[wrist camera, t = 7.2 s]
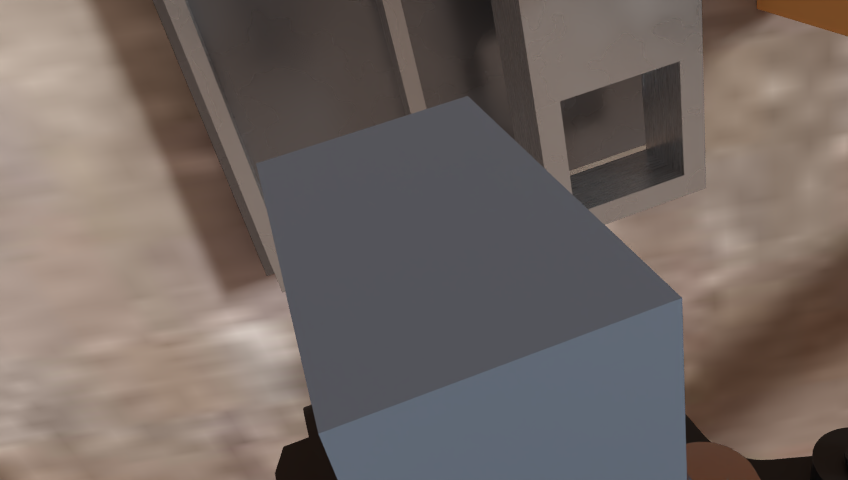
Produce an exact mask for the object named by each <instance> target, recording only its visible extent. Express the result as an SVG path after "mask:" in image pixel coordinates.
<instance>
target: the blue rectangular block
mask: <svg viewBox="0 0 848 480" xmlns="http://www.w3.org/2000/svg"><path fill="white" fill-rule="evenodd" d="M256 166H257V170H258V174H259V179H260V183H261V187H262V192H263V196H264V200H265V205H266V209H267V213H268V218H269V222H270V226H271V231H272V235H273V239H274V244H275V248H276V252H277V257H278V261H279V265H280V270H281V274H282V278H283V283H284V287H285V291H286V296H287V300H288V304H289V309H290V313H291V317H292V322H293V326H294V330H295V335H296V339H297V343H298V348H299V352H300V356H301V361H302V365H303V369H304V374H305V378H306V382H307V387H308V391H309V395H310V400H311V404H312V408H313V413H314V417H315V421H316V426H317V430H318V434H319V436H320V439H321V441H322V444H323V446H324V448H325V451H326V453H327V456H328V458H329V460H330V463H331V465H332V467H333V470H334V472H335V475H336V477H337V479H338V480H687V461H686V425H685V388H684V351H683V315H682V297H681V296H679V295H678V294H677V293H676V292H675V291H674V290H673V289H672V288H671V287H670V286H669V285H668V284H667V283H666V282H665V281H664V280H662V279H661V278H660V277H659V276H658V275H657V274H656V273H655V272H654V271H653V270H652V269H651V268H650V267H649V266H648V265H647V264H646V263H644V262H643V261H642V260H641V259H640V258H639V257H638V256H637V255H636V254H635V253H634V252H633V251H632V250H631V249H630V248H629V247H627V246H626V245H625V244H624V243H623V242H622V241H621V240H620V239H619V238H618V237H617V236H616V235H615V234H614V233H613V232H612V231H610V230H609V229H608V228H607V227H606V226H605V225H604V224H603V223H602V222H601V221H600V220H599V219H598V218H597V217H596V216H595V215H594V214H592V213H591V212H590V211H589V210H588V209H587V208H586V207H585V206H584V205H583V204H582V203H581V202H580V201H579V200H578V199H577V198H575V197H574V196H573V195H572V194H571V193H570V192H569V191H568V190H567V189H566V188H565V187H564V186H563V185H562V184H561V183H560V182H559V181H557V180H556V179H555V178H554V177H553V176H552V175H551V174H550V173H549V172H548V171H547V170H546V169H545V168H544V167H543V166H542V165H540V164H539V163H538V162H537V161H536V160H535V159H534V158H533V157H532V156H531V155H530V154H529V153H528V152H527V151H526V150H525V149H523V148H522V147H521V146H520V145H519V144H518V143H517V142H516V141H515V140H514V139H513V138H512V137H511V136H510V135H509V134H508V133H507V132H505V131H504V130H503V129H502V128H501V127H500V126H499V125H498V124H497V123H496V122H495V121H494V120H493V119H492V118H491V117H490V116H488V115H487V114H486V113H485V112H484V111H483V110H482V109H481V108H480V107H479V106H478V105H477V104H476V103H475V102H474V101H473V100H472V99H470V98H469V97H468V96H466V97H463V98H459V99H456V100H453V101H450V102H447V103H444V104H441V105H438V106H434V107H431V108H428V109H425V110H422V111H419V112H416V113H413V114H409V115H406V116H403V117H400V118H397V119H394V120H391V121H387V122H384V123H381V124H378V125H375V126H372V127H369V128H366V129H362V130H359V131H356V132H353V133H350V134H347V135H344V136H341V137H337V138H334V139H331V140H328V141H325V142H322V143H319V144H316V145H312V146H309V147H306V148H303V149H300V150H297V151H294V152H291V153H287V154H284V155H281V156H278V157H275V158H272V159H269V160H266V161H262V162H259V163H256Z"/></svg>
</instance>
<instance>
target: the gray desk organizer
mask: <svg viewBox="0 0 848 480" xmlns="http://www.w3.org/2000/svg"><path fill="white" fill-rule="evenodd" d="M153 2H154V5H155V7H156V10H157V12H158V15H159V17H160V19H161V22H162V24H163V27H164V29H165V31H166V34H167V36H168V39H169V41H170V43H171V46H172V48H173V51H174V53H175V55H176V58H177V60H178V63H179V65H180V68H181V70H182V72H183V75H184V77H185V80H186V82H187V84H188V87H189V89H190V92H191V94H192V96H193V99H194V101H195V104H196V106H197V108H198V111H199V113H200V116H201V118H202V121H203V123H204V125H205V128H206V130H207V133H208V135H209V137H210V140H211V142H212V145H213V147H214V149H215V152H216V154H217V157H218V159H219V162H220V164H221V166H222V169H223V171H224V174H225V176H226V178H227V181H228V183H229V186H230V188H231V190H232V193H233V195H234V198H235V200H236V202H237V205H238V207H239V210H240V212H241V215H242V217H243V219H244V222H245V224H246V227H247V229H248V231H249V234H250V236H251V239H252V241H253V243H254V246H255V248H256V251H257V253H258V255H259V258H260V260H261V263H262V265H263V268H264V270H265V272H266V275H267V276H268V275H271V274H274V273H275V276H276V278H277V281H278V283H279V286H280V288H281V291H282V292H285V287H284V283H283V278H282V274H281V270H280V265H279V261H278V257H277V252H276V248H275V244H274V239H273V235H272V231H271V226H270V222H269V218H268V213H267V209H266V205H265V200H264V196H263V192H262V187H261V183H260V179H259V174H258V170H257V166H256V163H259V162H262V161H266V160H269V159H272V158H275V157H278V156H281V155H284V154H287V153H291V152H294V151H297V150H300V149H303V148H306V147H309V146H312V145H316V144H319V143H322V142H325V141H328V140H331V139H334V138H337V137H341V136H344V135H347V134H350V133H353V132H356V131H359V130H362V129H366V128H369V127H372V126H375V125H378V124H381V123H384V122H387V121H391V120H394V119H397V118H400V117H403V116H406V115H409V114H413V113H416V112H419V111H422V110H425V109H428V108H431V107H434V106H438V105H441V104H444V103H447V102H450V101H453V100H456V99H459V98H463V97H466V96H468V97H469V98H470V99H472V100H473V101H474V102H475V103H476V104H477V105H478V106H479V107H480V108H481V109H482V110H483V111H484V112H485V113H486V114H487V115H488V116H490V117H491V118H492V119H493V120H494V121H495V122H496V123H497V124H498V125H499V126H500V127H501V128H502V129H503V130H504V131H505V132H507V133H508V134H509V135H510V136H511V137H512V138H513V139H514V140H515V141H516V142H517V143H518V144H519V145H520V146H521V147H522V148H523V149H525V150H526V151H527V152H528V153H529V154H530V155H531V156H532V157H533V158H534V159H535V160H536V161H537V162H538V163H539V164H540V165H542V166H543V167H544V168H545V169H546V170H547V171H548V172H549V173H550V174H551V175H552V176H553V177H554V178H555V179H556V180H557V181H559V182H560V183H561V184H562V185H563V186H564V187H565V188H566V189H567V190H568V191H569V192H570V193H571V194H572V195H573V196H574V197H575V198H577V199H578V200H579V201H580V202H581V203H582V204H583V205H584V206H585V207H586V208H587V209H588V210H589V211H590V212H591V213H592V214H594V215H595V216H596V217H597V218H598V219H599V220H600V221H601V222H602V223H603V224H604V225H605V224H608V223H611V222H613V221H616V220H619V219H622V218H624V217H627V216H630V215H633V214H636V213H638V212H641V211H644V210H647V209H649V208H652V207H655V206H658V205H661V204H663V203H666V202H669V201H672V200H674V199H677V198H680V197H683V196H686V195H688V194H691V193H694V192H697V191H699V190H702V189H705V188H706V167H705V123H704V79H703V36H702V0H153ZM645 144H646V150H643V151H640V152H637V153H634V154H631V155H629V156H626V157H623V158H620V159H617V160H614V161H611V162H609V163H606V164H603V165H600V166H597V167H594V168H591V169H588V170H586V171H583V172H580V173H577V174H574V175H571V176H570V173H569V171H570V170H573V169H576V168H579V167H582V166H584V165H587V164H590V163H593V162H596V161H599V160H602V159H605V158H607V157H610V156H613V155H616V154H619V153H622V152H625V151H628V150H630V149H633V148H636V147H639V146H642V145H645Z"/></svg>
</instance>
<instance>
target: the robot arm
mask: <svg viewBox="0 0 848 480" xmlns="http://www.w3.org/2000/svg"><path fill="white" fill-rule="evenodd" d="M303 410H304V416H305V421H306V425H307V430H308V435H309V438H306V439H303V440H301V441H298V442H295V443H292V444H290V445H287V446H284V447H283V450H282V453H281V456H280V459H279V463H278V466H277V469H276V472H275V476H276V480H338V479H337V477H336V475H335V472H334V470H333V467H332V465H331V463H330V460H329V458H328V456H327V453H326V451H325V448H324V446H323V444H322V441H321V439H320V436H319V434H318V430H317V426H316V421H315V417H314V413H313V408H312V405H309V406H307V407H304V408H303ZM685 425H686V461H687V480H848V428H841V429H836V430H834V431H831V432H829V433H827V434H825V435H823V436H822V437H821V438H820V439H819V440H818V441H817V443H816V444H815V446H814V449H813V455H812V456H808V457H797V458H786V459H775V460H754V459H748V458H745V457H744V456H742V455H741V454H740V453H738V452H737V451H735V450H733V449H731V448H729V447H727V446H724V445H721V444H717V443H711V442H710V441H709V440H708V439H707V438H706V437H705V436H704V435H703V434H702V433H701V431H700V430H699V429H698V428H697V427H696V426H695V425H694V423H693V422H692V421H691V420H690V419H689V418H688V417H687V415H686V414H685Z"/></svg>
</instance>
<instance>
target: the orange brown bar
mask: <svg viewBox="0 0 848 480" xmlns="http://www.w3.org/2000/svg"><path fill="white" fill-rule="evenodd" d="M757 9H760V10H763V11H766V12H769V13H773V14H776V15H779V16H783V17H786V18H789V19H793V20H796V21H799V22H802V23H806V24H809V25H812V26H816V27H819V28H822V29H825V30H829V31H832V32H835V33H839V34H842V35H845V36H848V0H757Z"/></svg>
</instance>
